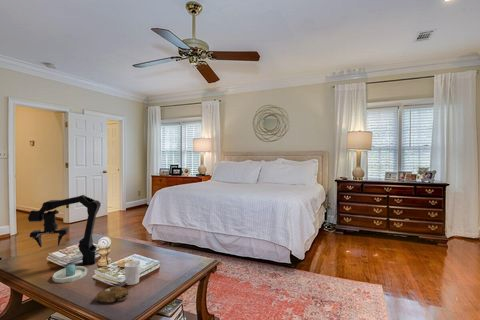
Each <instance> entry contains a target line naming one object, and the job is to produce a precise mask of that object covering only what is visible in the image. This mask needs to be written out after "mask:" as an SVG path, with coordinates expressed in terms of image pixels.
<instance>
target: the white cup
mask: <svg viewBox="0 0 480 320" xmlns="http://www.w3.org/2000/svg"><path fill="white" fill-rule="evenodd" d="M140 274H141V262H140V261H138V260H131V261H127V262H126V263H125V264H124V278H125V283H126V282H127V284H126V285H127V286H133V285H136V284H138V283H139V282H140V276H141V275H140Z"/></svg>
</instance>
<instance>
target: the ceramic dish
mask: <svg viewBox="0 0 480 320" xmlns="http://www.w3.org/2000/svg"><path fill="white" fill-rule="evenodd" d="M87 274H88V268H87V267H86V266H85V265H82V266H81V265H75V275H73V276H69V277H67V276H66V267H64V268H62V269H59V270H58V271H56V272H54V274H53V275H52V281H54V283H59V284H60V283H61V284H64V283H72V282H75V281H78V280H81V279H83V278H84V277H85V276H87Z"/></svg>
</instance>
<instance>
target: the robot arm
mask: <svg viewBox="0 0 480 320" xmlns="http://www.w3.org/2000/svg"><path fill="white" fill-rule="evenodd" d="M78 203H80V204H81V205H82V206H84V207H85V208H86V211H87V220H86V225H85V230H84V235H83V237H82V238H81V239H80V240H79V241H78V247H77V248H78V251H79V252H80V253H81V255H82V257H81V258H82V259H81V261H82V263H81V264H82V266H89V265H95V264H96V261H97V259H96V251H97V246H95V245H94V241H93V233H94V227H95V223H96V217H97V214H98V212H99V210H100V208H101V202H100V200H96V199H93V198H91V197H88V196H86V195H84V194H81V195H78V196H74V197H68V198H64V199H51V200H48V201H45V202H43V203H42V205H41V208H40V209H38V210H35V209H34V210H30V213H29V214H28V217H27V221H28V222H29V223H35V222H39V223H40V222H42V221H43V231H42V230H41V229H35V230H32V231H31V232H30V233H29V238H32V239H33V240H35V242H37V244H38V246H39V248H42V247H43V245H42V243H43V242H42V235H51V234H54V235H55V234H59V235H57V246H60V244H61V242H62V239H63V237H64V236H65V235H67V234H69V228H68V227H61V228H60V229H58V227H59V225H58V223H57V221H56V215H57V214H59V213H60V211H59V210H57V208H59V207H63V206H67V205H73V204H78Z"/></svg>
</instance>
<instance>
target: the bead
mask: <svg viewBox="0 0 480 320" xmlns="http://www.w3.org/2000/svg"><path fill="white" fill-rule="evenodd" d="M75 266H76V264H73V263H72V264H68V265H66V266H65V268H66V276H67V277H69V276H73V275H75Z"/></svg>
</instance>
